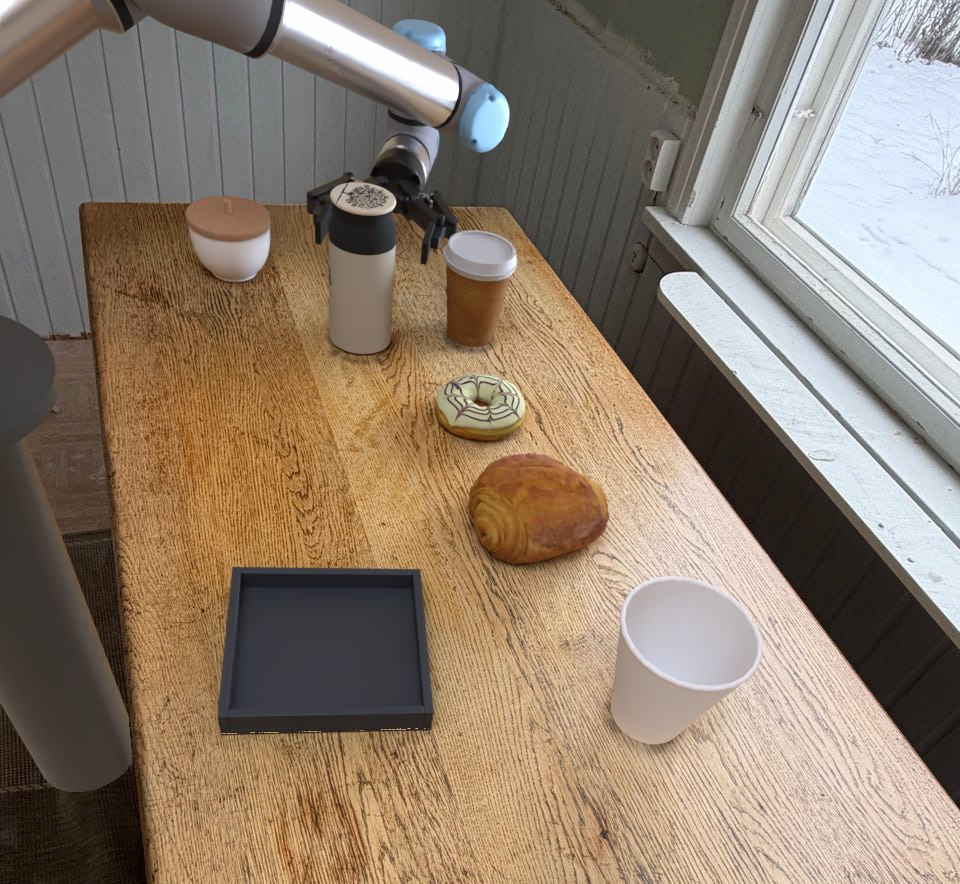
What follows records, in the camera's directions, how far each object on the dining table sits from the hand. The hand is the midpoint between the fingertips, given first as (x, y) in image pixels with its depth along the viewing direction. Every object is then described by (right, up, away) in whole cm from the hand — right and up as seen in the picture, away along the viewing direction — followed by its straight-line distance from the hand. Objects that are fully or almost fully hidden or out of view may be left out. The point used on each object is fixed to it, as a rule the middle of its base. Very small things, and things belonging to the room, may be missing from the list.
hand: (371, 243), depth 102 cm
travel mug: (-2, -11, +4) cm, 12 cm away
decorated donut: (+14, -23, -3) cm, 27 cm away
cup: (+29, -57, -27) cm, 70 cm away
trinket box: (-20, +1, +10) cm, 23 cm away
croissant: (+20, -37, -13) cm, 44 cm away
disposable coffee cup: (+12, -8, +9) cm, 17 cm away
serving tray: (0, -52, -28) cm, 59 cm away
